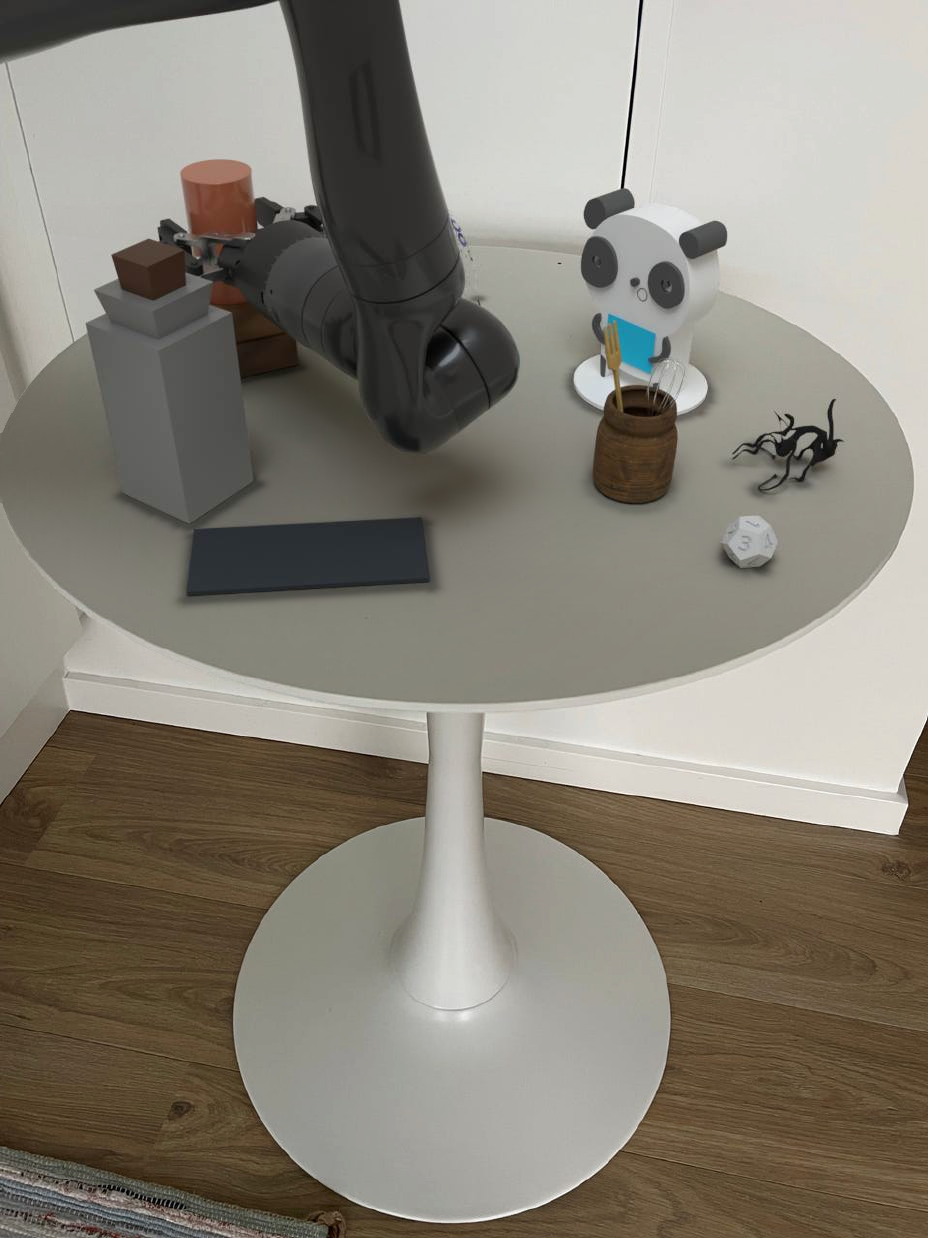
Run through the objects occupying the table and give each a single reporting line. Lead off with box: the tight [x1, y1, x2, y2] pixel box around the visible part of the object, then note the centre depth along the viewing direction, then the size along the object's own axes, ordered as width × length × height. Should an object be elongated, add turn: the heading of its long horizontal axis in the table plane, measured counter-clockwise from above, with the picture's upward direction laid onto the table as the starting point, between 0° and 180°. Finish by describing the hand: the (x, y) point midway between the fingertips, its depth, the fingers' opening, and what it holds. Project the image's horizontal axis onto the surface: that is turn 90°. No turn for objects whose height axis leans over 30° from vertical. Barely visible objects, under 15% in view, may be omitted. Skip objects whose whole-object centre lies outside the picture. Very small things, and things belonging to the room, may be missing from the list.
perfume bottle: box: [85, 238, 255, 525], centre depth 79 cm, size 7×7×18 cm
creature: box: [731, 398, 845, 491], centre depth 86 cm, size 8×5×8 cm
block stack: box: [209, 302, 299, 379], centre depth 98 cm, size 8×8×6 cm
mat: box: [186, 516, 430, 597], centre depth 78 cm, size 16×7×1 cm, turn 96°
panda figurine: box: [573, 187, 728, 417], centre depth 92 cm, size 12×11×15 cm
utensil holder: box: [592, 320, 685, 504], centre depth 82 cm, size 6×6×12 cm
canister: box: [179, 158, 259, 305], centre depth 93 cm, size 6×6×10 cm
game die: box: [720, 515, 779, 569], centre depth 78 cm, size 4×4×3 cm
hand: (212, 219), depth 94 cm, fingers open, 8 cm apart
